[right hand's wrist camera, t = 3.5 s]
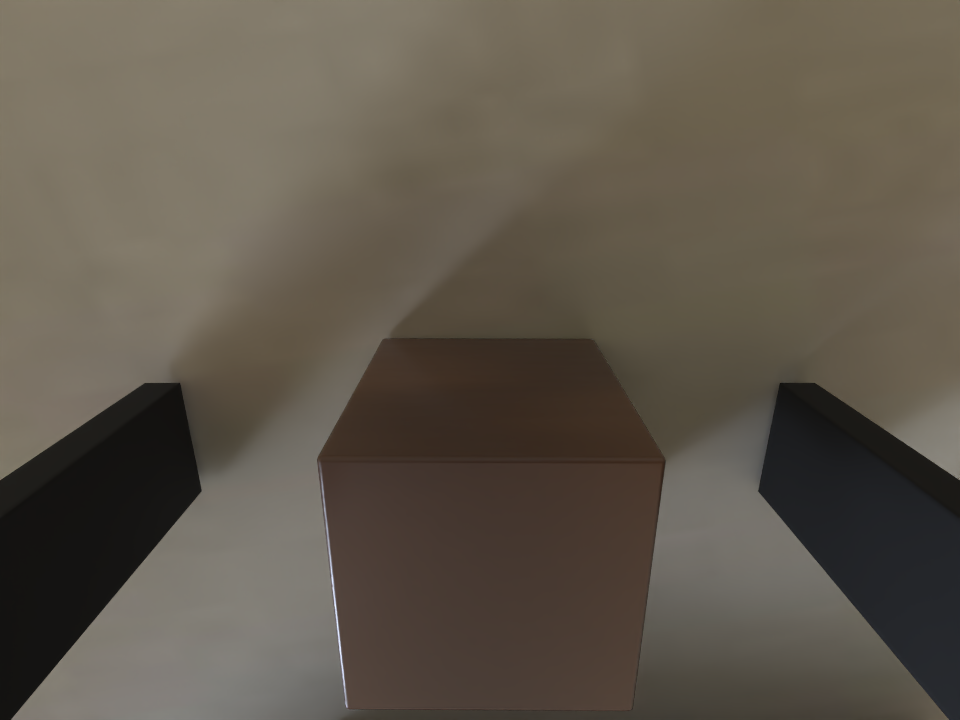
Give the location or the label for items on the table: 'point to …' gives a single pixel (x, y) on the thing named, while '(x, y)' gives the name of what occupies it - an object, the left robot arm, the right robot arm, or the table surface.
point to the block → (490, 528)
